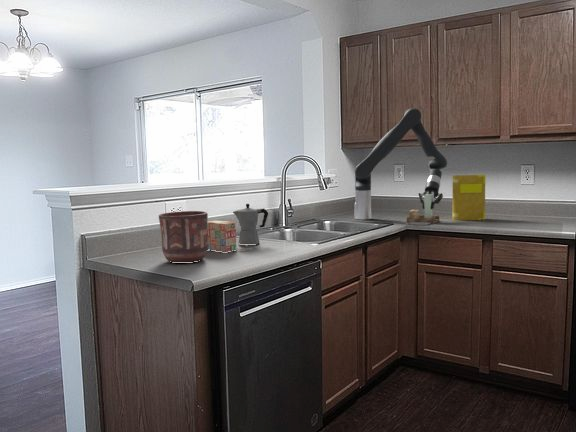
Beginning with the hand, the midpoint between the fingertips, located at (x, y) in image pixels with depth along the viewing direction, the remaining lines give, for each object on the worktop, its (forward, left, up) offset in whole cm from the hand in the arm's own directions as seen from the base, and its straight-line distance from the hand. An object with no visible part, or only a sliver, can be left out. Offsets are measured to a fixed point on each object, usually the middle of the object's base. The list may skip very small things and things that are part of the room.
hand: (427, 208), depth 283 cm
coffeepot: (-54, -95, -8) cm, 110 cm away
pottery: (-57, -136, -8) cm, 148 cm away
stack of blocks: (-61, -113, -8) cm, 129 cm away
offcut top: (-8, +2, -4) cm, 9 cm away
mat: (-2, -9, -8) cm, 12 cm away
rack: (-3, +2, -8) cm, 9 cm away
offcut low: (-8, +2, -7) cm, 11 cm away
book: (+18, +19, -8) cm, 27 cm away
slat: (0, +2, -7) cm, 7 cm away
